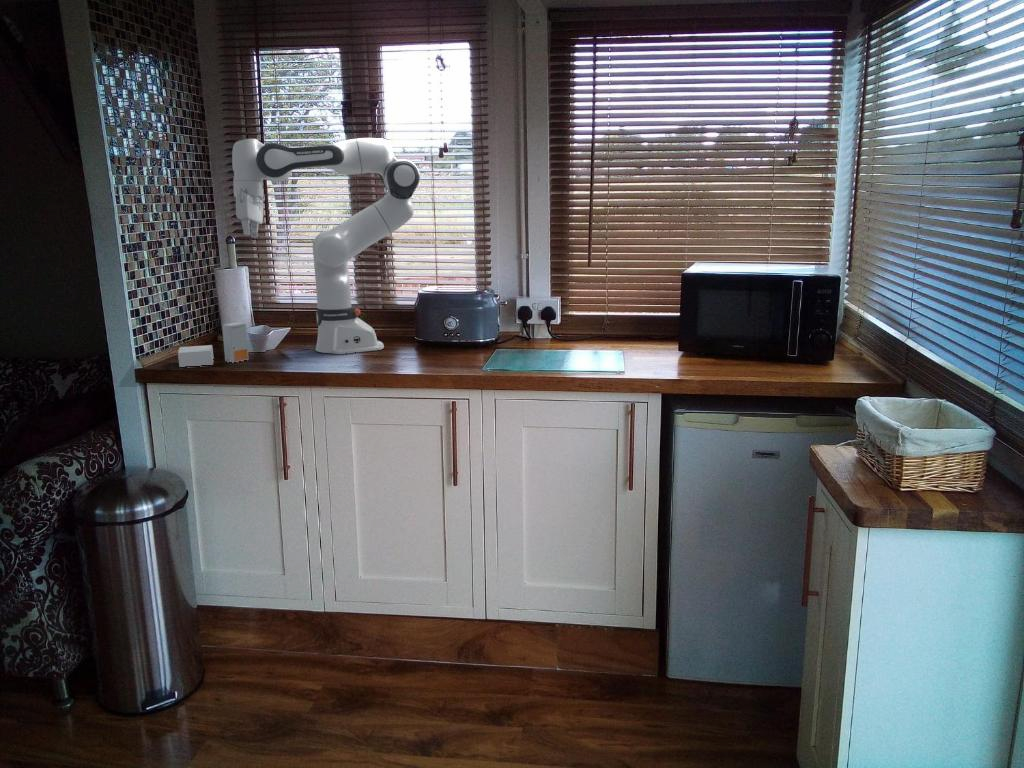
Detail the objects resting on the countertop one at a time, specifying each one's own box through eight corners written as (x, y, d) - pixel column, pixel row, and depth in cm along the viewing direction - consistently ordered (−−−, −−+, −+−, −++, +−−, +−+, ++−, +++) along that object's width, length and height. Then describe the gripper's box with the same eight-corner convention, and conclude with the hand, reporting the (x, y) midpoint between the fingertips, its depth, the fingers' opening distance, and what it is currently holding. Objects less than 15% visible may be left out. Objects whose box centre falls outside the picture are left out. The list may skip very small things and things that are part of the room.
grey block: (213, 360, 266) (212, 345, 265) (212, 366, 258) (211, 350, 256) (181, 362, 264) (180, 347, 262) (179, 368, 255) (177, 352, 254)
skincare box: (233, 363, 260) (229, 325, 257) (225, 362, 262) (221, 324, 259) (249, 360, 264) (246, 323, 261) (241, 358, 267) (238, 321, 264)
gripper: (250, 186, 251) (253, 233, 253) (265, 195, 272) (268, 238, 273) (229, 187, 251) (231, 233, 252) (246, 196, 271) (248, 238, 272)
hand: (250, 236), depth 263 cm, fingers open, 8 cm apart
